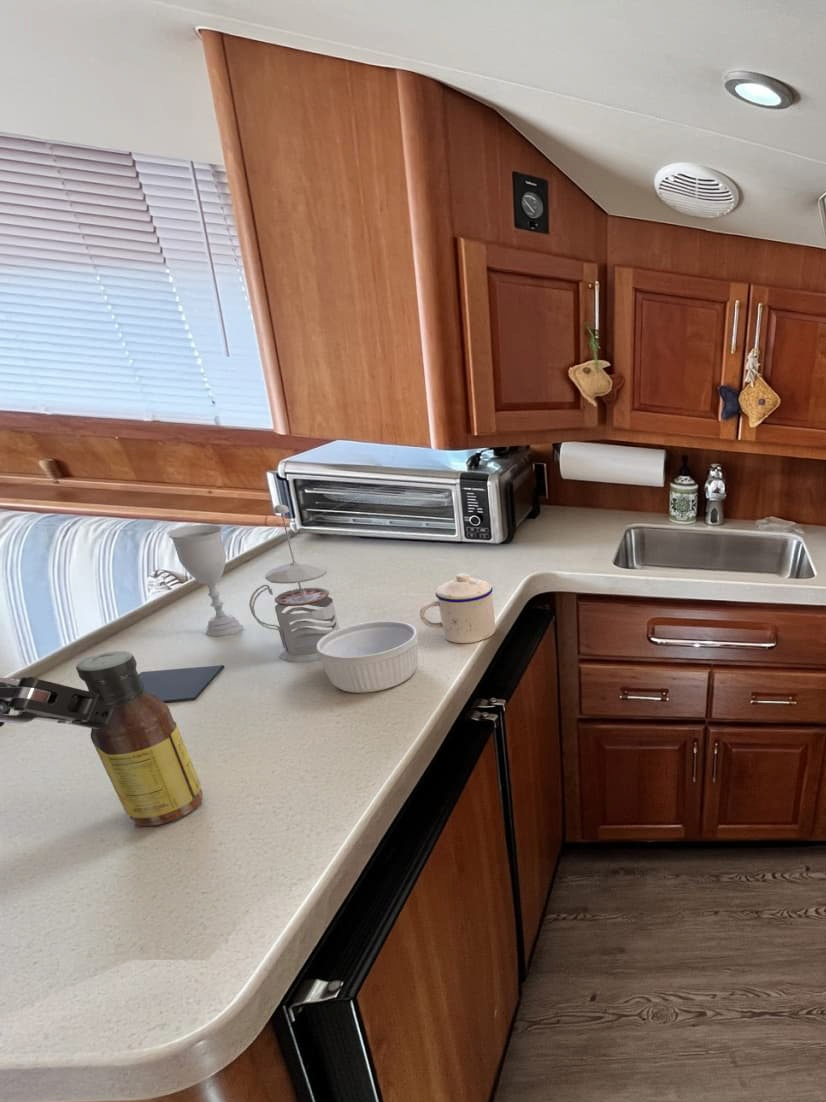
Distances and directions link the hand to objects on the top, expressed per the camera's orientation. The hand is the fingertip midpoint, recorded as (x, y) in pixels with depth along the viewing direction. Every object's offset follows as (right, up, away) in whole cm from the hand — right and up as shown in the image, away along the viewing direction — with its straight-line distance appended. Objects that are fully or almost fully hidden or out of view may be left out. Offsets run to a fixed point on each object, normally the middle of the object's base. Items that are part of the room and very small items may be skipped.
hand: (54, 717), depth 59 cm
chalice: (-31, +6, +52) cm, 61 cm away
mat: (-24, -2, +35) cm, 42 cm away
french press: (-13, +2, +48) cm, 50 cm away
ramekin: (+2, -1, +42) cm, 42 cm away
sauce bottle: (-2, -13, +13) cm, 18 cm away
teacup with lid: (+8, +4, +57) cm, 57 cm away
